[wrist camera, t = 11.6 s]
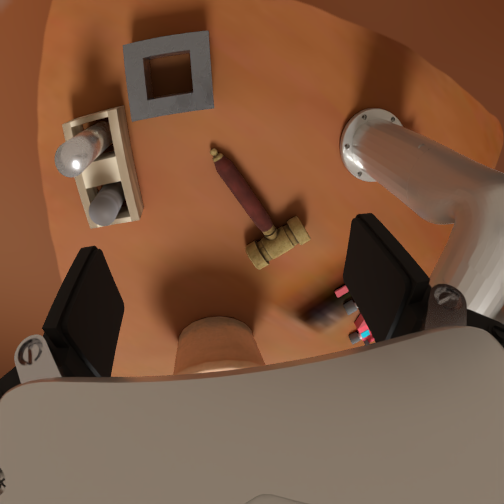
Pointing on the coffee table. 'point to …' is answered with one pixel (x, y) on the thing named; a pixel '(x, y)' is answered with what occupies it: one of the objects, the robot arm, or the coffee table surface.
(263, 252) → the gavel
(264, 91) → the coffee table surface
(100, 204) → the rack
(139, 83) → the socket
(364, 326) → the race car
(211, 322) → the pottery
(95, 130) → the silver metal cylinder
